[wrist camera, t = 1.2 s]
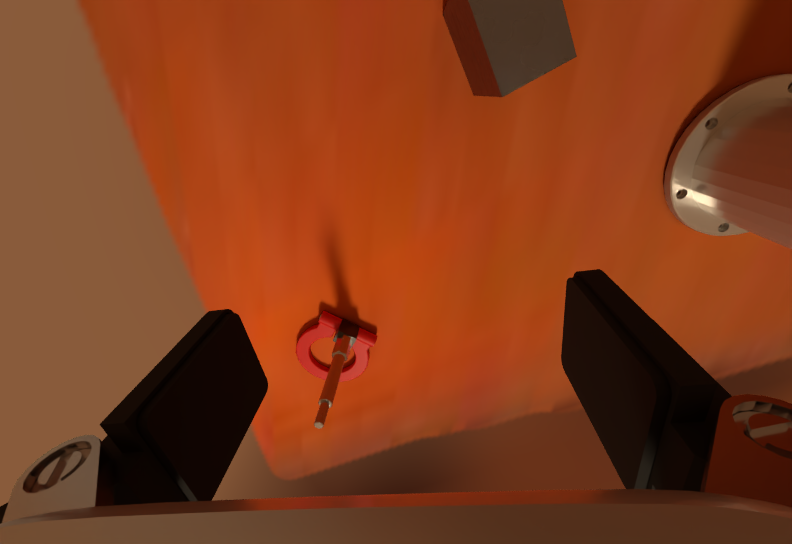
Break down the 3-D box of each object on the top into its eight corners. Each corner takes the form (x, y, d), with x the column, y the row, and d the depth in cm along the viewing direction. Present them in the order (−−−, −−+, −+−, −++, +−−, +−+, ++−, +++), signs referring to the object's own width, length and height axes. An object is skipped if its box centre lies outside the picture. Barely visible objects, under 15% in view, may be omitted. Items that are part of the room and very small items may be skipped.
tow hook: (351, 384, 44) (385, 335, 39) (325, 491, 32) (369, 439, 28) (289, 357, 42) (317, 303, 38) (239, 459, 31) (272, 399, 27)
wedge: (494, -19, 24) (541, -83, 16) (522, 68, 27) (576, 56, 18) (442, 14, 25) (458, -28, 17) (473, 95, 28) (502, 96, 19)
